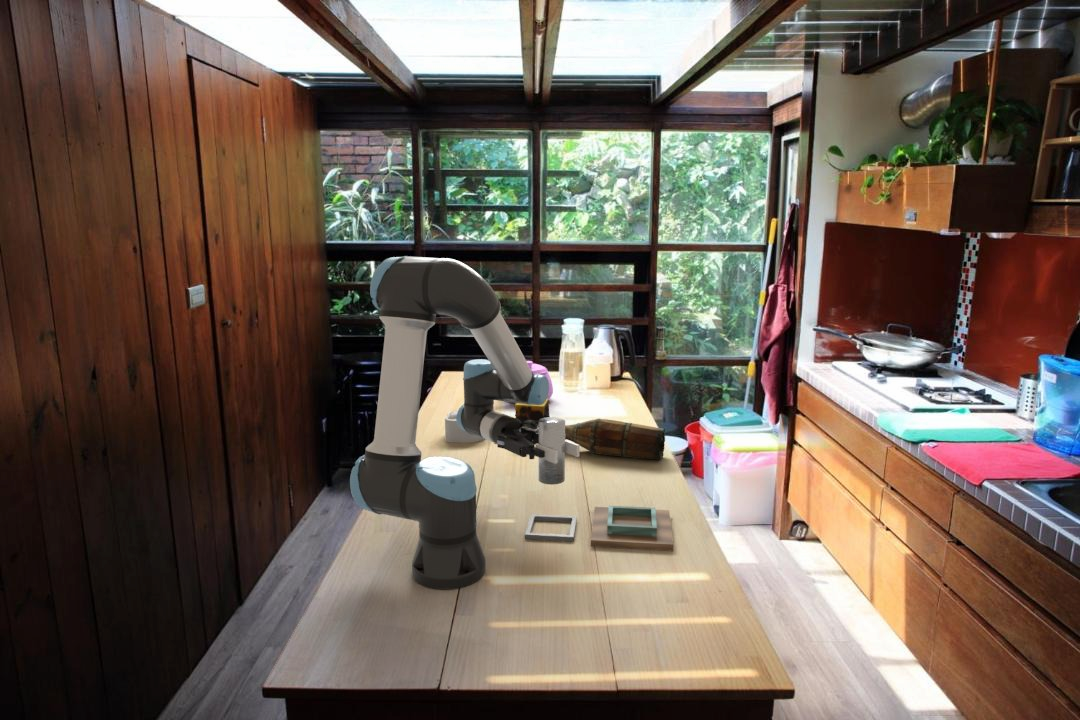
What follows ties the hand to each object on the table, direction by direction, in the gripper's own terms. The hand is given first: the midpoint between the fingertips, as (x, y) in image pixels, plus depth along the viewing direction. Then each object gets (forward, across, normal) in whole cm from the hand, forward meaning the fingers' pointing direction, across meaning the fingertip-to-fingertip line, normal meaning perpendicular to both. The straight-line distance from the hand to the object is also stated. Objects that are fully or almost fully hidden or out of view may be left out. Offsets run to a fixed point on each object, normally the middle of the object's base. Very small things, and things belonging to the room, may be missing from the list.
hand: (567, 454), depth 163 cm
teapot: (-93, -68, -20) cm, 117 cm away
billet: (-5, 0, -8) cm, 9 cm away
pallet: (+8, -14, -20) cm, 25 cm away
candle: (-64, -45, -20) cm, 81 cm away
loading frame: (-5, 0, -20) cm, 20 cm away
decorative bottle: (-37, -44, -20) cm, 61 cm away
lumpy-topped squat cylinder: (-73, -24, -20) cm, 79 cm away
